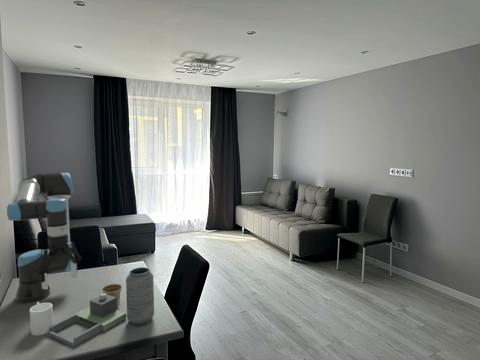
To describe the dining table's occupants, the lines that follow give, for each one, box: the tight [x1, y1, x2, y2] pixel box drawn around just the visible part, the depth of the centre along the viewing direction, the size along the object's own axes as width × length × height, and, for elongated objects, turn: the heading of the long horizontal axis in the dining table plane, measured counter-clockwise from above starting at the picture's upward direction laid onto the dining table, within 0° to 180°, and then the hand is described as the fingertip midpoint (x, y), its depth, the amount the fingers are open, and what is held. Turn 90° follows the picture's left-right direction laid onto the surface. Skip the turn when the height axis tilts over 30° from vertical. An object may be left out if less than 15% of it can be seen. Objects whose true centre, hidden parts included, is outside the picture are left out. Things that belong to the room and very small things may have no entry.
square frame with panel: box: [46, 292, 127, 347], centre depth 140 cm, size 20×25×10 cm
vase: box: [125, 266, 155, 326], centre depth 144 cm, size 12×12×23 cm
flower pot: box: [101, 283, 123, 307], centre depth 159 cm, size 9×9×9 cm
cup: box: [29, 301, 55, 336], centre depth 138 cm, size 8×12×10 cm
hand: (60, 282), depth 140 cm, fingers open, 13 cm apart
